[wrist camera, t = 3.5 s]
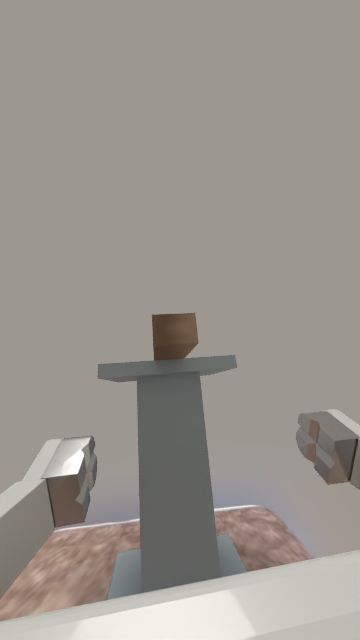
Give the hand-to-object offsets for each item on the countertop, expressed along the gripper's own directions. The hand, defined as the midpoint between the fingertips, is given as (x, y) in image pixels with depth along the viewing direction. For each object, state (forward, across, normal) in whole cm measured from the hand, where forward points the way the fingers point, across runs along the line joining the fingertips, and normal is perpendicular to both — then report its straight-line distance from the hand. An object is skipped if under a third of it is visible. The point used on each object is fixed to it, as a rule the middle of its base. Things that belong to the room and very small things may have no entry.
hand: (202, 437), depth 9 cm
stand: (+10, 0, -30) cm, 31 cm away
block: (+18, 0, -5) cm, 19 cm away
